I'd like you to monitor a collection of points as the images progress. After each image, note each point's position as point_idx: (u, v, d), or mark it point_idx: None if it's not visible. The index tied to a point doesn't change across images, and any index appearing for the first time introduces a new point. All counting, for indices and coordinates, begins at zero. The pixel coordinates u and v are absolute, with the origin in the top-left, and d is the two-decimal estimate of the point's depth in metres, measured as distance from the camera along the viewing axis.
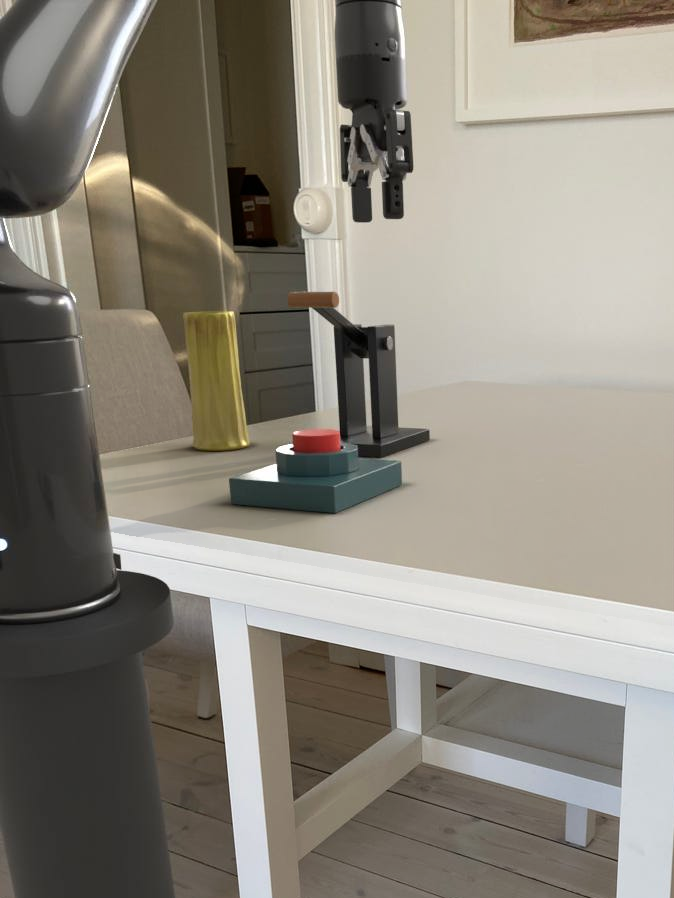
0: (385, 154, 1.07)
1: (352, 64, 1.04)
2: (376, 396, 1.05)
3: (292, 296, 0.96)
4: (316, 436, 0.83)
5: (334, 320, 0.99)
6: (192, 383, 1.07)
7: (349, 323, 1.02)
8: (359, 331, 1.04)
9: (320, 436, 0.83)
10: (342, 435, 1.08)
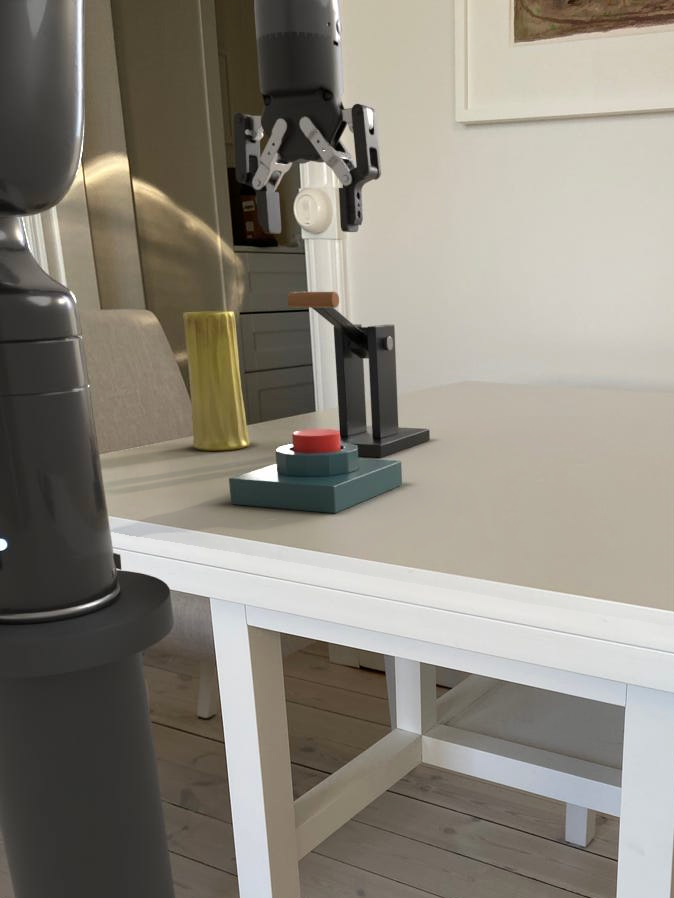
0: (340, 155, 0.91)
1: (301, 43, 0.86)
2: (376, 396, 1.05)
3: (292, 296, 0.96)
4: (316, 436, 0.83)
5: (334, 320, 0.99)
6: (192, 383, 1.07)
7: (349, 323, 1.02)
8: (359, 331, 1.04)
9: (320, 436, 0.83)
10: (342, 435, 1.08)
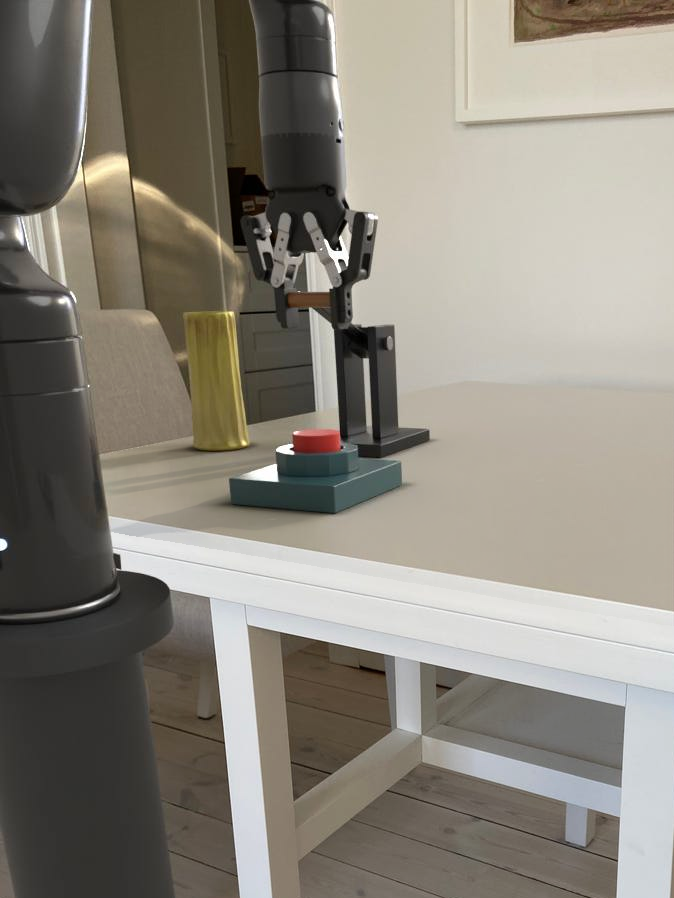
0: (336, 256, 0.93)
1: (305, 144, 0.88)
2: (376, 396, 1.05)
3: (292, 296, 0.96)
4: (316, 436, 0.83)
5: None
6: (192, 383, 1.07)
7: (349, 323, 1.02)
8: (359, 331, 1.04)
9: (320, 436, 0.83)
10: (342, 435, 1.08)
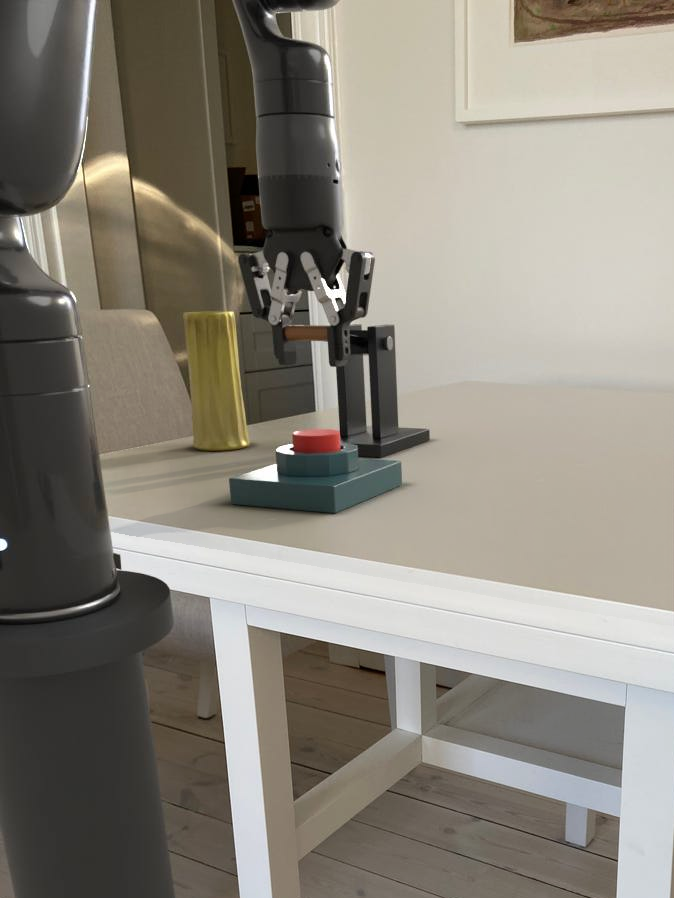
0: (333, 295, 0.93)
1: (302, 185, 0.88)
2: (376, 396, 1.05)
3: (289, 331, 0.96)
4: (316, 436, 0.83)
5: None
6: (192, 383, 1.07)
7: None
8: (358, 338, 1.04)
9: (320, 436, 0.83)
10: (342, 435, 1.08)
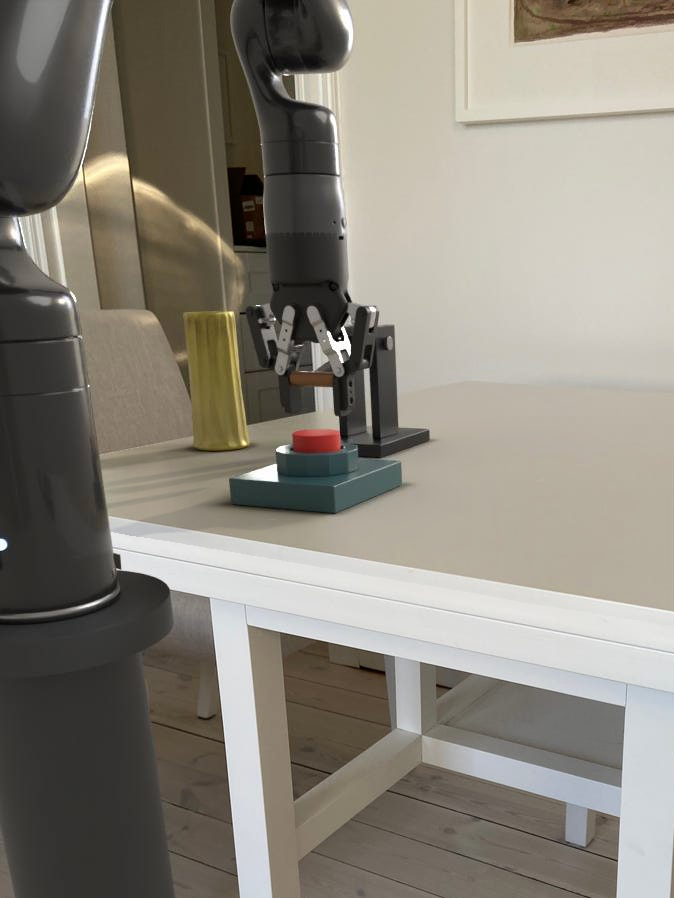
0: (339, 347, 0.95)
1: (308, 242, 0.90)
2: (376, 396, 1.05)
3: (294, 380, 0.98)
4: (316, 436, 0.83)
5: None
6: (192, 383, 1.07)
7: None
8: None
9: (320, 436, 0.83)
10: (342, 435, 1.08)
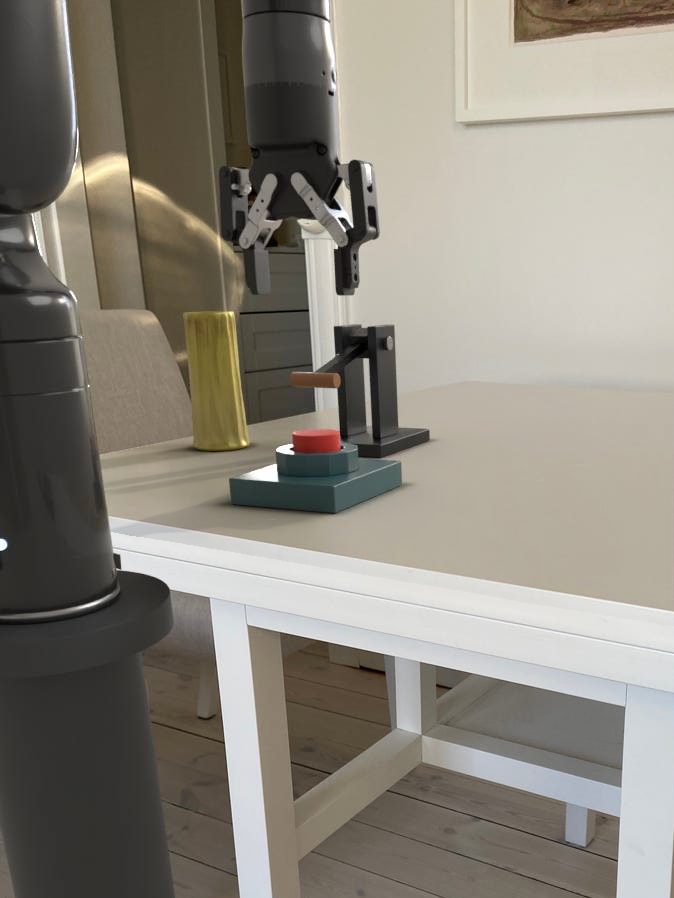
0: (336, 214, 0.83)
1: (293, 94, 0.79)
2: (376, 396, 1.05)
3: (294, 381, 0.98)
4: (316, 436, 0.83)
5: (337, 371, 1.01)
6: (192, 383, 1.07)
7: (349, 355, 1.02)
8: (358, 348, 1.04)
9: (320, 436, 0.83)
10: (342, 435, 1.08)
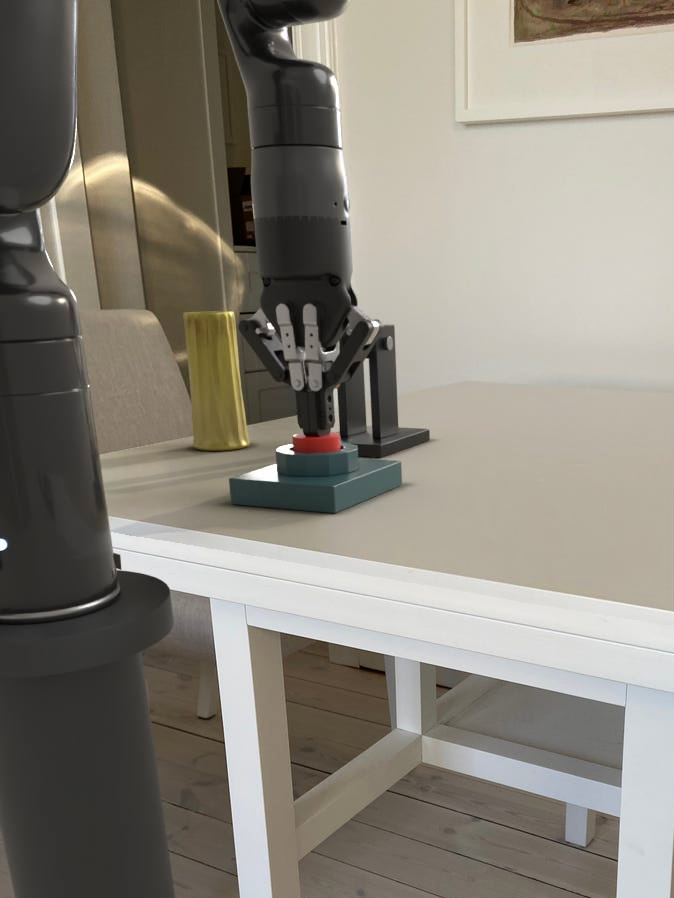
0: (325, 358, 0.81)
1: (305, 228, 0.76)
2: (376, 396, 1.05)
3: None
4: (316, 439, 0.83)
5: None
6: (192, 383, 1.07)
7: None
8: None
9: (320, 439, 0.83)
10: (342, 435, 1.08)
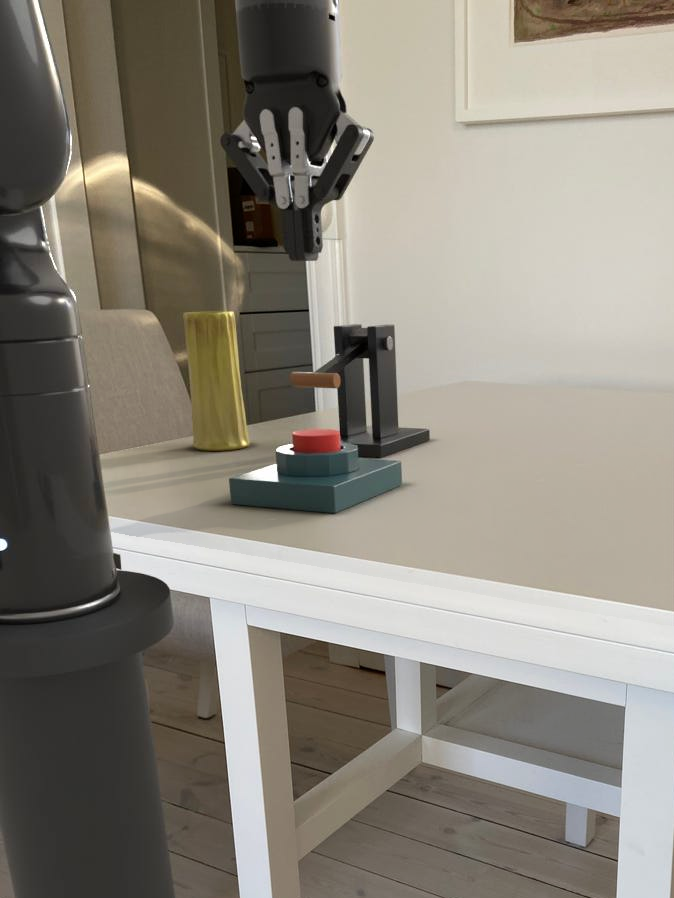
0: (312, 171, 0.77)
1: (290, 17, 0.71)
2: (376, 396, 1.05)
3: (294, 381, 0.98)
4: (316, 436, 0.83)
5: (337, 371, 1.01)
6: (192, 383, 1.07)
7: (349, 355, 1.02)
8: (358, 348, 1.04)
9: (320, 436, 0.83)
10: (342, 435, 1.08)
